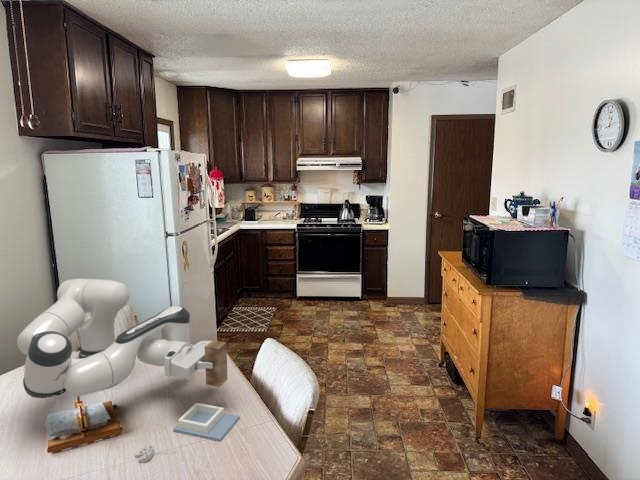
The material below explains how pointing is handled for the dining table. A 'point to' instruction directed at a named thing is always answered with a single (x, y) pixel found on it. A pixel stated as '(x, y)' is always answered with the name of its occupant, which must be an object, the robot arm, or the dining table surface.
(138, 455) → the game controller
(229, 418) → the cradle
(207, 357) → the walnut block
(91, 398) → the dining table surface
